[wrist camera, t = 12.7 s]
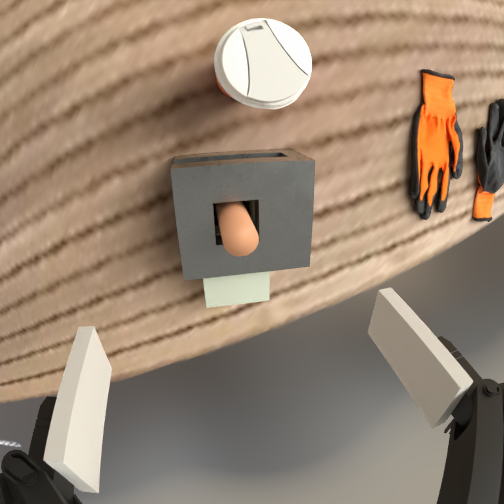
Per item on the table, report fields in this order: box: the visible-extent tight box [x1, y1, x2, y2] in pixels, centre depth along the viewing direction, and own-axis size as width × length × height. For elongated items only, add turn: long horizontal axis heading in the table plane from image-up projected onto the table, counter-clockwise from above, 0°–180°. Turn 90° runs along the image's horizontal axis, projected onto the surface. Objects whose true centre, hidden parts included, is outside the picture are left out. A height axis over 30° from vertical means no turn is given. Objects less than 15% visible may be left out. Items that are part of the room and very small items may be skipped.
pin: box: [214, 201, 259, 257], centre depth 33 cm, size 3×3×12 cm
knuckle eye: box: [203, 200, 270, 308], centre depth 38 cm, size 8×16×5 cm, turn 1°
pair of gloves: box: [409, 69, 504, 222], centre depth 40 cm, size 27×24×3 cm
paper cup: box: [214, 18, 312, 109], centre depth 25 cm, size 8×8×14 cm
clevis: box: [170, 149, 315, 281], centre depth 35 cm, size 14×12×8 cm
